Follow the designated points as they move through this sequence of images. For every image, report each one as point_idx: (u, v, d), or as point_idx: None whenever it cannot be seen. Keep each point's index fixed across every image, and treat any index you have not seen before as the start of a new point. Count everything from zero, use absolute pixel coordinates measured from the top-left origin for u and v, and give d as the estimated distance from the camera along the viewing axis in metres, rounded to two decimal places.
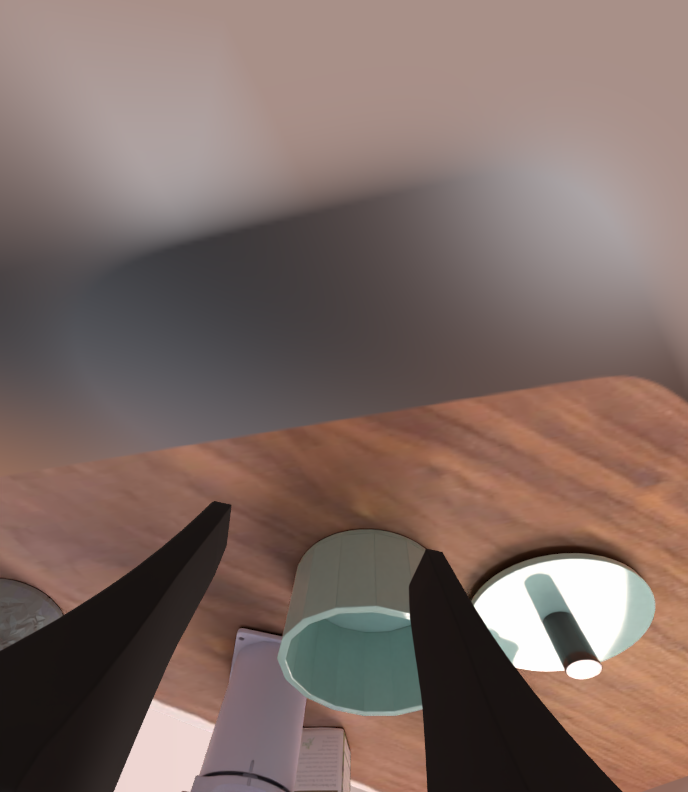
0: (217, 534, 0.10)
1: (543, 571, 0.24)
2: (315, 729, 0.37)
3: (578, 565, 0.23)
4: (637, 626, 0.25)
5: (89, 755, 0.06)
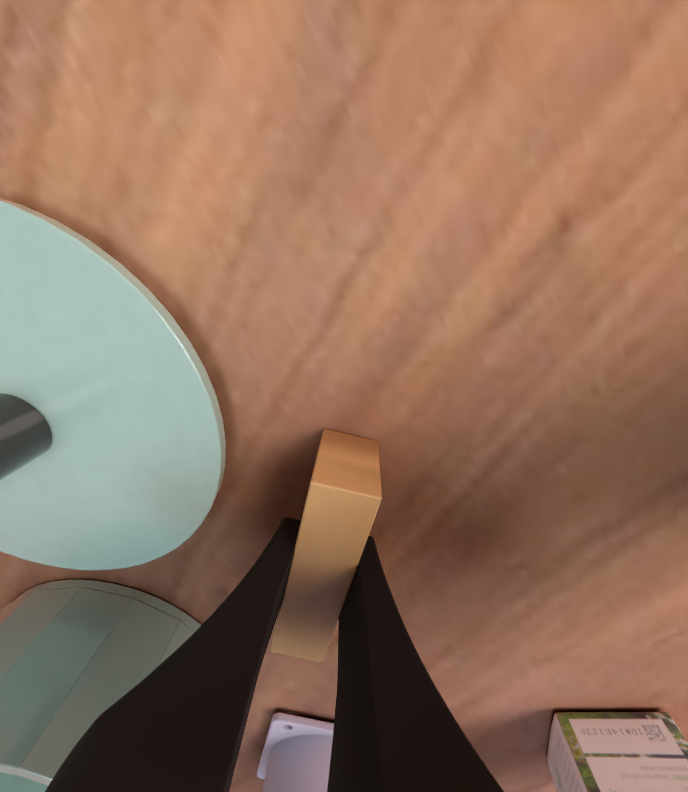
0: None
1: None
2: (549, 744, 0.18)
3: None
4: None
5: (228, 782, 0.06)
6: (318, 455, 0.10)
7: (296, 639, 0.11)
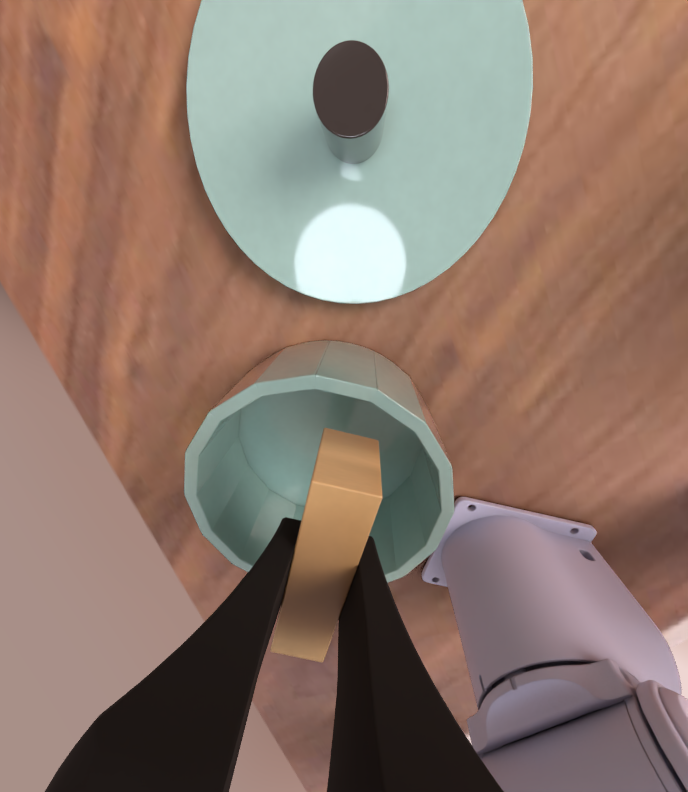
0: None
1: (232, 201, 0.14)
2: None
3: (207, 139, 0.14)
4: None
5: (229, 782, 0.06)
6: (319, 454, 0.10)
7: (297, 638, 0.11)
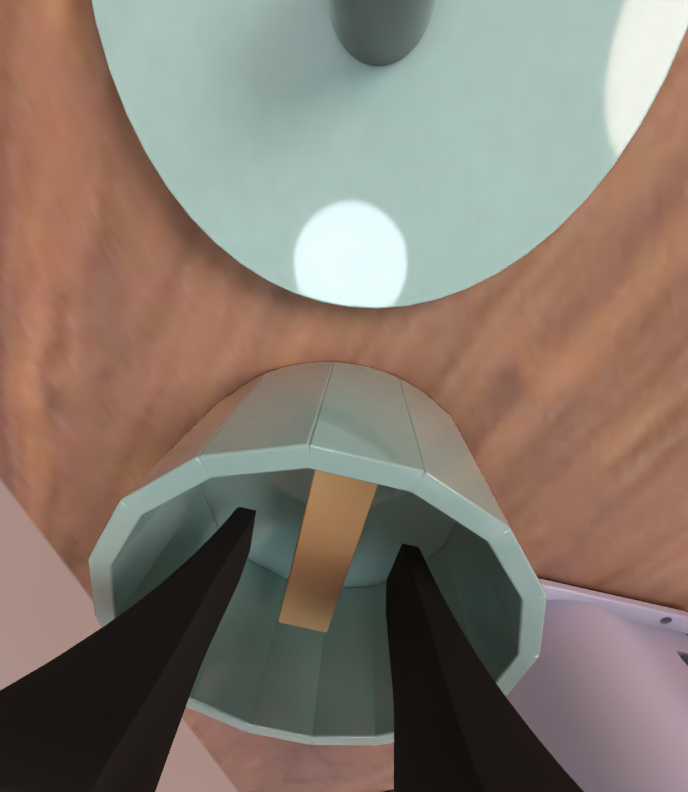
0: (244, 540, 0.10)
1: (173, 135, 0.09)
2: None
3: (123, 21, 0.08)
4: None
5: (138, 765, 0.06)
6: None
7: (303, 608, 0.12)
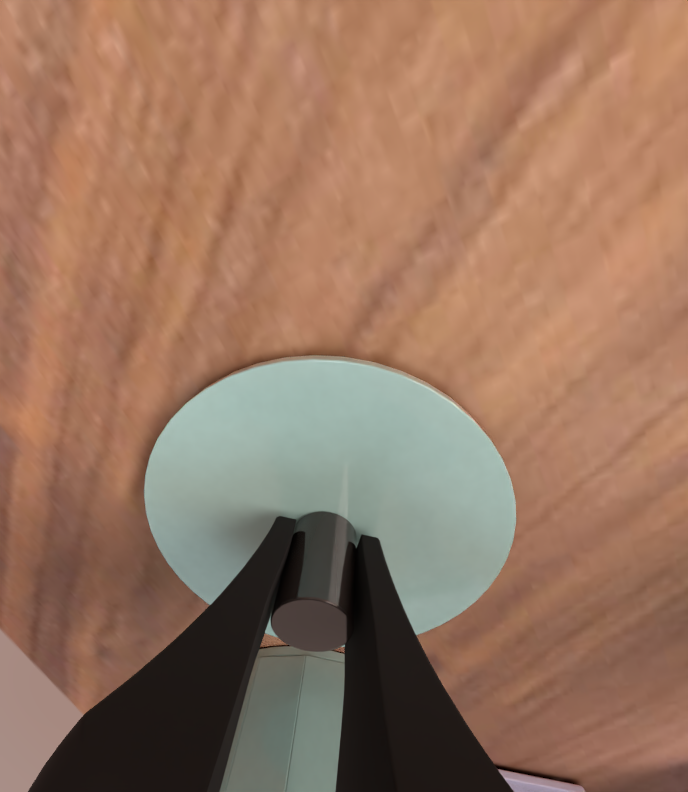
0: (288, 550, 0.10)
1: (197, 572, 0.14)
2: None
3: (167, 531, 0.13)
4: (322, 388, 0.10)
5: (217, 780, 0.06)
6: None
7: None
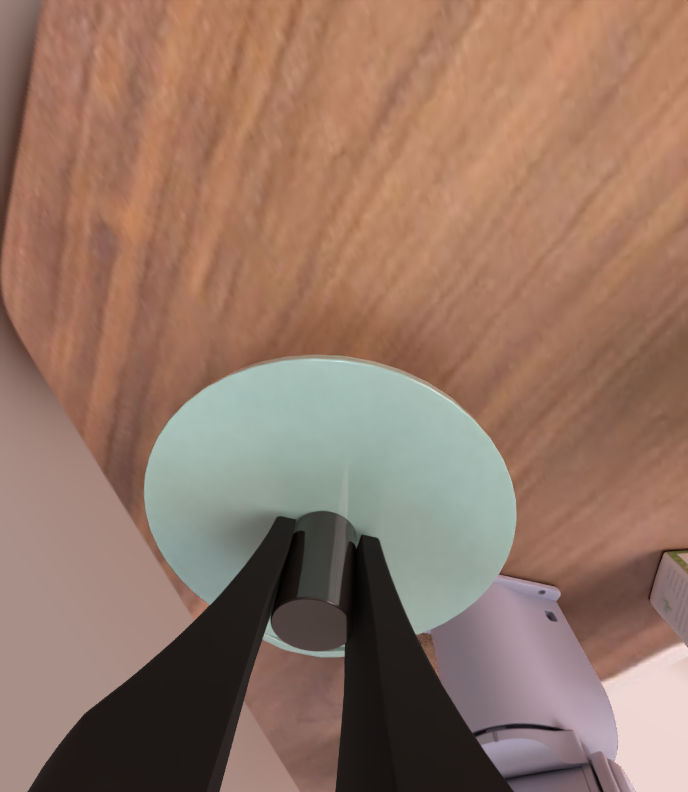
0: (288, 550, 0.10)
1: (197, 572, 0.13)
2: (655, 583, 0.24)
3: (167, 531, 0.13)
4: (322, 387, 0.10)
5: (217, 780, 0.06)
6: None
7: None
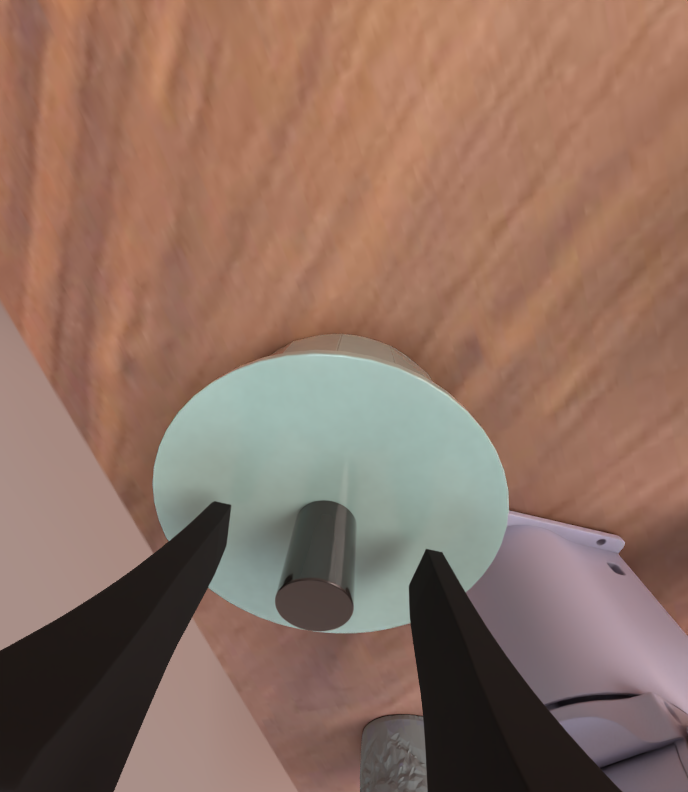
0: (217, 534, 0.10)
1: None
2: None
3: (175, 520, 0.13)
4: (323, 381, 0.10)
5: (89, 755, 0.06)
6: None
7: None
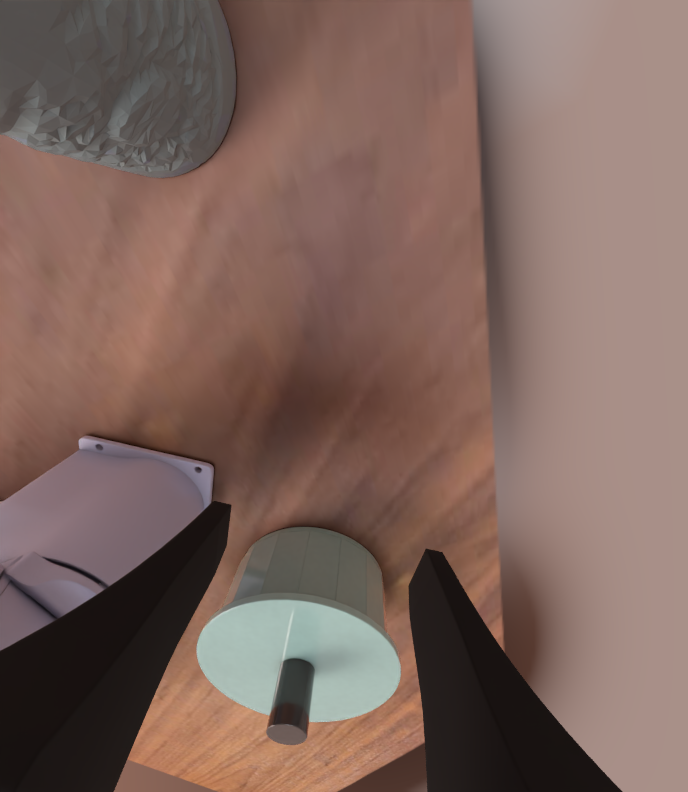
0: (217, 534, 0.10)
1: (379, 652, 0.21)
2: None
3: (389, 673, 0.21)
4: None
5: (89, 755, 0.06)
6: None
7: None
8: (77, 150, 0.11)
